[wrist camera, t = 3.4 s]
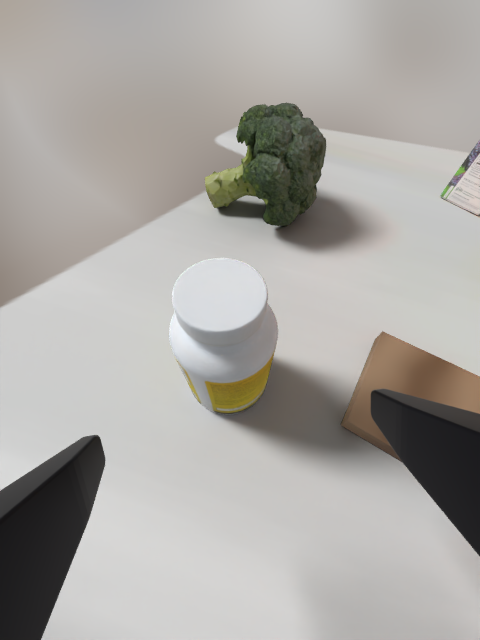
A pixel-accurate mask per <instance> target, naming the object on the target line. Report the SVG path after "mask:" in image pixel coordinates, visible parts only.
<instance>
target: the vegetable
mask: <svg viewBox="0 0 480 640" xmlns="http://www.w3.org/2000/svg"><path fill="white" fill-rule="evenodd" d="M302 116H303V114H302V112H301V111H300V109H299V108H298V107H297V106H296V105H295V104H290V103H282V104H279V105H276V106H274V105H271V106H269V107H268V106H266V105H256V106H254V107H252V108H250V109H249V110H248V111H247V112H244V113H243V117H241V119H240V123H239V126H238V131H237V136H236V137H237V140H238V143H239V142H241V144H242V143H243V142H244V140H245V144H246V146H248V149H247V153H246V157H245V158H243V159H242V164H241V165H240V166H238V167H237V168H233V169H226V170H224V171H222V172H220V173H216V172H213V174H212V175H209V176H207V177H205V185H206V191H207V194H208V196H209V199H210V201H211V202H212V204H213V206H214V208H219V207H222V206H227V207H228V205H229V204H230V203H231V202H233V201H235V200H237V199H239V198H241V197H243V196H245V195H249V196H256V197H258V198H259V199H263V200H264V202H265V204H266V210H265V212H264V215H263V218H264V221H265V222H266V223H267V224H271V225H277V226H287V225H289V224H291V223H292V221H294V220H295V218H296V217H297V215H298V214H302V213H304V212H305V210H306V209H308V208H310V206H311V205H312V203H313V202H314V200H315V199H316V191H317V188H316V183H317V182H318V181H319V179H320V177H321V169H322V167H323V164H324V157H325V151H326V139H325V138H324V137H323V135H322V133H321V132H320V131H319V129H318V128H317V127H316V126H315V125H314V124H313V121H312V120H311V119H310V118H303V117H302Z"/></svg>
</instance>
